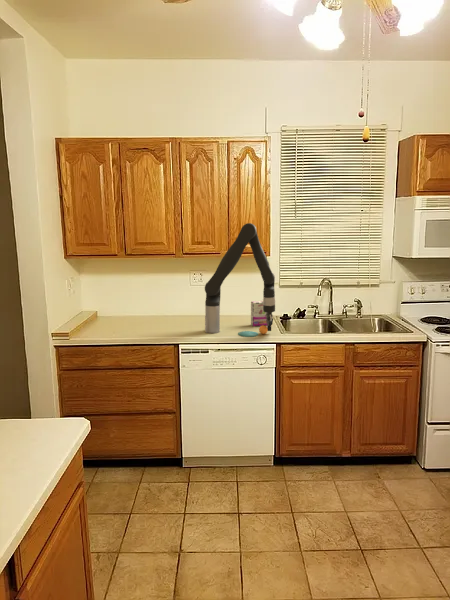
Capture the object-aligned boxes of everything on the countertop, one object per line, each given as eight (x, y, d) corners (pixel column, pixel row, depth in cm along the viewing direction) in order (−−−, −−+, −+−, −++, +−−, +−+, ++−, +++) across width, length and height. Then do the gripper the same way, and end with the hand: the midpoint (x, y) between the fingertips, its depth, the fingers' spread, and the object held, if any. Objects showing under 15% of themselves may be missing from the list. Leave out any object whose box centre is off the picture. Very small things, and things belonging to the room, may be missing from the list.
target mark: (239, 337, 276) (239, 336, 275) (236, 331, 288) (236, 331, 288) (260, 336, 277) (260, 336, 277) (256, 331, 290) (256, 330, 290)
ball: (268, 335, 281) (259, 335, 280) (266, 332, 286) (258, 332, 286) (268, 327, 280) (260, 327, 279) (267, 324, 285) (258, 324, 284)
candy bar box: (265, 323, 309) (266, 300, 306) (268, 325, 304) (268, 302, 301) (250, 324, 306) (250, 301, 303) (252, 326, 301) (253, 302, 298)
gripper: (261, 302, 286) (261, 328, 289) (265, 306, 273) (265, 333, 277) (272, 301, 287) (273, 327, 290) (277, 305, 274) (277, 333, 277)
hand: (269, 330), depth 283 cm, fingers closed
